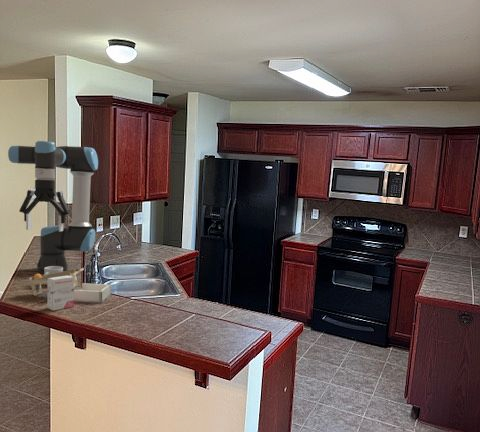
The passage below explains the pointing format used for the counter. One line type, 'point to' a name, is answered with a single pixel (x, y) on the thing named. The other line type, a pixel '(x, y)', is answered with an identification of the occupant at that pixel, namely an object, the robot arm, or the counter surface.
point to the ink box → (60, 292)
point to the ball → (37, 276)
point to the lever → (37, 282)
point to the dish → (92, 293)
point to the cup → (52, 270)
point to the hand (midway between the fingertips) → (44, 230)
